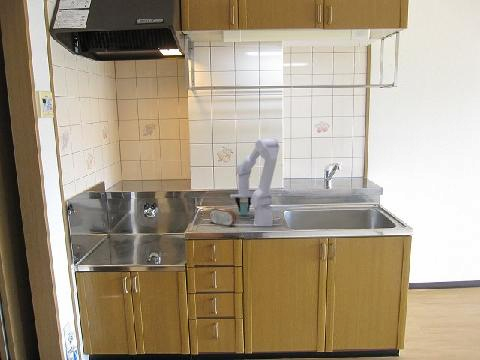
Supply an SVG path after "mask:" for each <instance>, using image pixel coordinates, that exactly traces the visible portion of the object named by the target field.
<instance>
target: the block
mask: <svg viewBox="0 0 480 360" xmlns="http://www.w3.org/2000/svg"><path fill="white" fill-rule="evenodd" d="M239 214H240V215H248V214H249V212H248V201H243V202H242V201H240V212H239Z"/></svg>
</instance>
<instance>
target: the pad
mask: <svg viewBox="0 0 480 360" xmlns="http://www.w3.org/2000/svg"><path fill="white" fill-rule="evenodd" d="M235 215H236V221H237V220H240V221H241V220H243V221H244V220H253V213H248V215H240V213H235Z"/></svg>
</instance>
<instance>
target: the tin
mask: <svg viewBox="0 0 480 360" xmlns="http://www.w3.org/2000/svg"><path fill="white" fill-rule="evenodd" d="M208 215H209V219H210V221H211V222H212V223H213V224H215V225H220V226H226V227H230V226H232V225H235V223H236V221H237V220H236V213H235V211H233V209H230V208H229V209H228V208H223V207H216V206H215V207H213V209H211V210H210V211H209V213H208Z"/></svg>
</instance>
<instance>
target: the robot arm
mask: <svg viewBox="0 0 480 360" xmlns="http://www.w3.org/2000/svg"><path fill="white" fill-rule="evenodd" d="M254 145H255V146H254V148H253V150H252V152H251V153H250V155H246V156H245V159H244V160H242V162H241V163H240V164H238V165H236V167H235V172H236V175H237V177H238V179H237V183H238V184H237V185H238V193H235V194H234V193H233V194H230V195H229V196H230V197H229V198H230V199H231V200H232V199H234V200H235V203H236V205H237V208H238V212H239V213H240V202H241V199H247V202H248V213H249V212H250V208H251V207H250V206H252V208H254V210H253V211H254V212H253V213H254V214H253V215H254V216H253V217H254V218H253V219H254V221H253V227H273V226H274V225H273V222H274V217H273V214H274V213H273V212H274V211H273V210H274V209H273V207H271V205H272V203H273V193H272V191H271V190H270V188H271V184H272V180H273V176H274V172H275V170H276V165H277V161H278V154H279V149H280V146H281V145H280V144H279V141H278V139H276V138H274V137H272V138H264V139H263V138H259V139H257V140H256V142H255V144H254ZM259 157H261V158H262V159H263V160H264V162H263V167H262V171H261V176H260V180H259V185H258V188H257V189H256V190H254V192H253V193H250V178H251V173H252V168H253V167H254V166H255V165H256V164H257V159H258V158H259Z"/></svg>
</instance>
